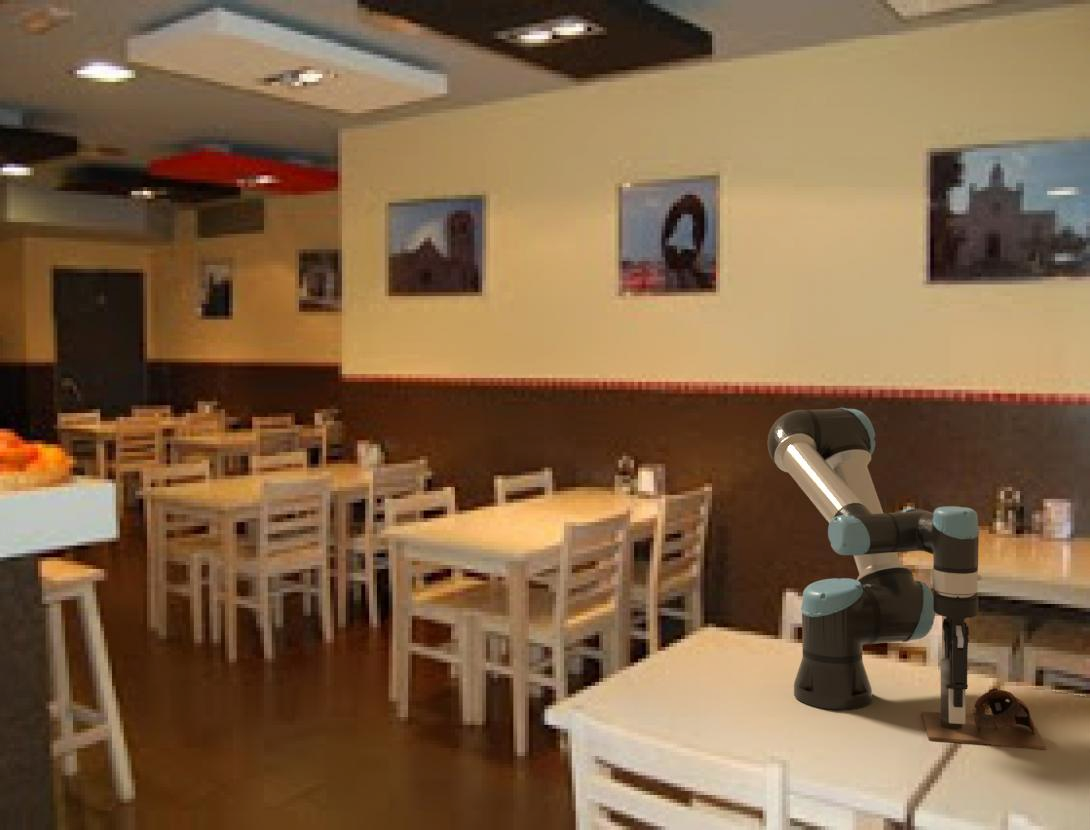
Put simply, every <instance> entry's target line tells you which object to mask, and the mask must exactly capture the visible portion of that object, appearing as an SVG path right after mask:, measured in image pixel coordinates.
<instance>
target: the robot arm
mask: <svg viewBox="0 0 1090 830" xmlns="http://www.w3.org/2000/svg"><path fill="white" fill-rule="evenodd" d="M875 438H876V432H875V429H874V427H873V424H872V421H871V420H870V419H869V417H868V416H867V415H866V414H865V413H864V412H863V411H861V410H859V409H856V408H845V407H839V408H838V407H837V408H830V409H826V408H825V409H796V410H792V411H789V412H786V413H785V414H783V415H781V416H780V417H779V418H778V419H776V420H775V422H774V423H773V424H772V427H771V428H770V429H769V432H768V435H767V442H766V443H767V450H768V454H769V456H770V458H771V460H772V461H773V463H774V464H775V465H776V467H777V468H778V469H780V470H781V471H783V472H785V473H788V474H789V475H790V476H791V478H792V479H793V480H794V481H795V482H796V484H797V485H798V487H799V488H800V489H801V491H803V493H804V494H805V495H806V497H808V498H809V500H810V501H811V502H812V504H813V505H814V506H815V507H816V509H817V510H818V511H819V513H820V514H821V515H822V516H823V518H824V519H825V520H826V521H827V522H828V528H827V534H828V540H829V542H830V546H831V548H832V550H833V551H834V552H835V553H836V554H838V555H841V556H853V558H854V562H855V565H856V567H857V571H858V574H859V575H858V576H857V579H854V578H850V577H849V578H845V577H843V578H842V577H841V578H837V577H834V578H826V579H825V578H824V579H821V580H817V581H814V582H812V583H810V584H808V585H807V586H806V587H805V588H804V590H803V592H802V597H801V598H802V600H801V608H800V609H801V632H802V639H801V641H802V644H801V645H802V657H801V661H800V664H799V667H798V670H797V673H796V677H795V680H794V683H793V696H794V697H795V698H796V699H797V700H798V701H799V702H802V703H804V704H805V705H808V706H812V707H816V708H821V709H827V710H828V709H829V710H840V711H841V710H842V711H843V710H854V709H859V708H860V709H861V708H863V707H866V706H868V705H870V704H871V703H872V701H873V700H872V699H873V697H872V696H873V695H872V694H873V691H872V690H873V688H872V686H871V683H870V679H869V677H868V674H867V671H866V667H865V665H864V664H865V663H864V662H863V645H873V644H874V645H875V644H884V643H897V642H903V643H907V642H909V641H913V640H915V641H916V640H920V639H923V638H925V637H926V636H927V635H928V634H929V633H930V632H931V630H932V628H933V626H934V622H935V618H936V615H939V616H942V617H945V618H943V621H942V630H943V642H944V659H945V658H950V685H946V688H948V689H949V723H955V724H965V714H966V703H967V702H966V701H967V700H966V696H967V695H966V693H967V692H966V690H968V687H969V685H968V652H969V651H968V650H969V649H968V648H969V647H968V646H969V641H970V639H969V637H968V636H969V635H970V634H969V633H970V632H969V626H968V625H967V622H965V619H968V618H970V619H971V618H975V617H976V616H977V615H978V614H979V595H978V594H976V593H977V592H978V591H979V583H978V581H982V576H981V575H980V574H979V540H980V539H979V535H980V529H979V520H978V513H977V511H975V510H974V509H973V508H970V507H961V506H953V505H951V506H950V505H949V506H940V507H939V506H938V507H937V508H935V509H934V511H933V512H930V511H928V510H925V509H924V508H923V509H922V508H912V507H909V508H904V509H903V510H901V511H899V512H883V508H882V505H881V502H880V499H879V496H878V494H877V491H876V488H875V484H874V482H873V480H872V476H871V474H870V471H869V468H868V465H869V463H870V462H871V461H872V455H873V453H874V452H875V448H876V440H875ZM907 552H924V553H925V552H926V553H927V554H931V555H932V557H933V562H932V563H933V565H932V566H933V567H932V589H933V590H934V591H935V592H934V593H933V592H932V590H931V588H930V586H929V585H927V583H926V582H924V581H920V580H915V577H914V574H913V572H912V569H911V568H910V567H908V566H907V565H903V564H902V563H901V559H900V556H899V554H898V553H907Z"/></svg>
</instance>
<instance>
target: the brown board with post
mask: <svg viewBox="0 0 1090 830" xmlns="http://www.w3.org/2000/svg"><path fill="white" fill-rule="evenodd" d="M946 685H950V658H945V657H944V658H941V659H940V711H938V712H937V711H936V712H935V711H924V710H921V712H920V713H921V718H922V721H923V724H924V728H925V732H926V735H927V739H928V740H929V741H934V742H935V741H936V742H937V741H938V742H947V743H956V744H957V743H960V744H973V745H983V744H988V745H987V746H995V745H1004V746H1003V747H1008V746H1015V747H1014V748H1020V747H1027V748H1026V749H1034V750H1047V745H1046V743H1045V742H1044V740H1043V738H1042V736H1041V735H1040V733H1039V731H1038V730H1037V727H1036V726H1035V725H1034V730H1035V734H1032V731H1031V729H1030V728H1029V727H1028V726H1025V725H1021V724H1016V725H1017V728H1015V727H1012V726H1009V727H1005V728H1003V729H999V728H997V730H992V729H983V728H980V729H981V730H980V731H978V729H977V727H976V724H975V715H976V714H967V713H965V724H955V723H949V689H948V688H946ZM989 744H991V745H989Z"/></svg>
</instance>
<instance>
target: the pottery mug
mask: <svg viewBox="0 0 1090 830" xmlns="http://www.w3.org/2000/svg"><path fill="white" fill-rule="evenodd" d="M1006 700H1008V701H1006ZM984 704H987V705H988V707H989V708H990V710H991V714H987V713H984V712H982V711H981V708H982V706H983V705H984ZM974 708H975V713H974V715H975V724H976V727H977V729H978V731H980V730H981V729H980V728H983V729H992V730H997V728H999V729H1003V728H1005V727H1009V726H1012V727H1015V728H1017V725H1016V724H1021V725H1025V726H1028V727H1029V728H1030V729H1031V731H1032V734H1035V730H1034V726H1035V723H1034V721H1033V720H1032V717H1031V714H1030V710H1029V708H1028V706H1027V705H1026V704H1025V702H1023V701H1022V700H1021V699H1019V698H1018V697H1016V696H1015V695H1014V694H1013V693H1011V692H1010V691H1007V690H1004V689H998V688H996V687H995V688H994V687H993V688H992V689H989V691H987V692H985V693H983V694H982V695H981V696H980V697H978V698H977V700H976V701H975V704H974Z"/></svg>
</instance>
